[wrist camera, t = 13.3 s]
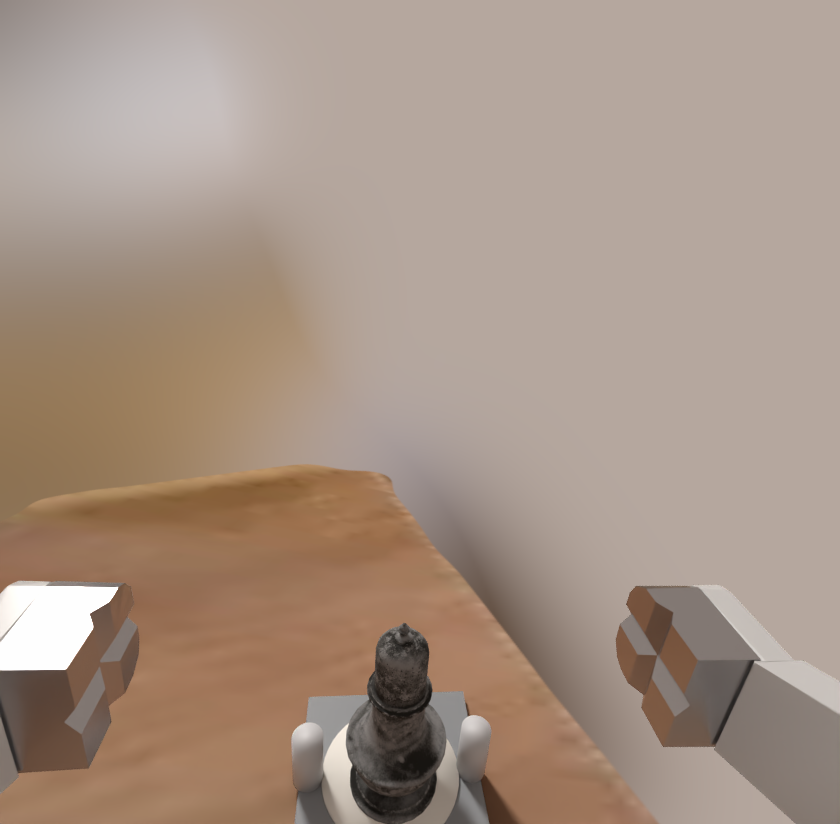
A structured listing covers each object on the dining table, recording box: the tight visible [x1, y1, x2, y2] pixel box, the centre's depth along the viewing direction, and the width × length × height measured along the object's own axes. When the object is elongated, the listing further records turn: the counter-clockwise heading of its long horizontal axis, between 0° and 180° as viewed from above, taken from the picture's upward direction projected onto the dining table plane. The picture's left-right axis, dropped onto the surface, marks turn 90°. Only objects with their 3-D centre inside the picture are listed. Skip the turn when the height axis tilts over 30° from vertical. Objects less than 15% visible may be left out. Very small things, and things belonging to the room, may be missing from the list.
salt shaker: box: [346, 623, 447, 824], centre depth 29 cm, size 6×6×12 cm
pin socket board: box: [292, 691, 491, 824], centre depth 31 cm, size 12×11×4 cm
